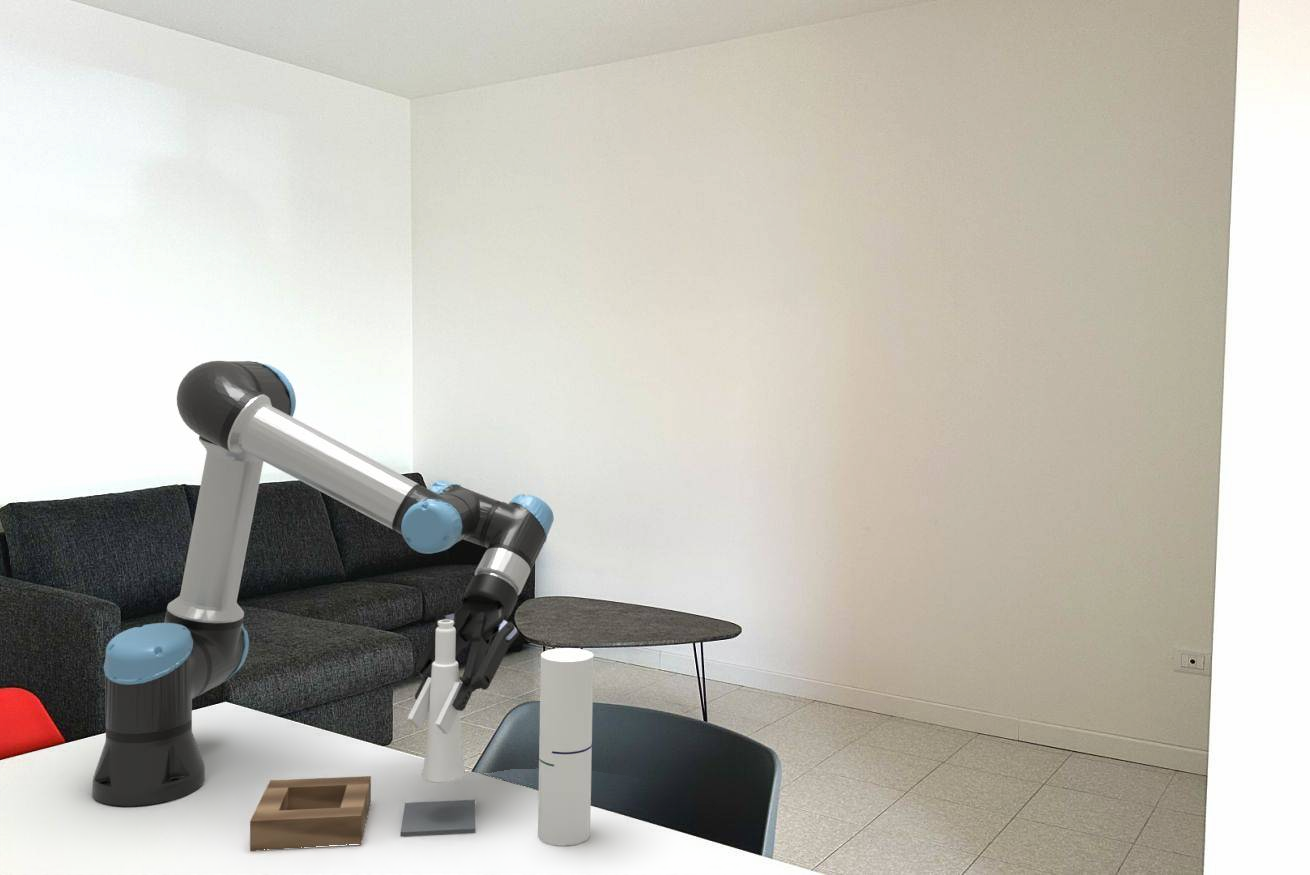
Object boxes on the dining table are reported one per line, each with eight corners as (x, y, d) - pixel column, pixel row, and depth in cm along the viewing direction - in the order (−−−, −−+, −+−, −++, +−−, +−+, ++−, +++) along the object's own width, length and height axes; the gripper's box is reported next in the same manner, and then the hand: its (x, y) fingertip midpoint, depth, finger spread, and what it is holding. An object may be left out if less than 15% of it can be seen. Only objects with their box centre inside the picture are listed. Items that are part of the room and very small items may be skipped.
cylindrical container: (582, 848, 141) (585, 663, 139) (530, 842, 142) (533, 659, 141) (595, 826, 148) (599, 650, 146) (546, 821, 149) (549, 646, 148)
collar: (270, 807, 152) (270, 780, 151) (370, 802, 154) (370, 776, 154) (250, 851, 138) (250, 821, 138) (360, 845, 140) (361, 815, 140)
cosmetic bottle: (450, 786, 145) (452, 628, 143) (413, 779, 147) (414, 623, 145) (473, 771, 150) (475, 618, 149) (437, 764, 152) (439, 614, 151)
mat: (405, 806, 153) (405, 802, 153) (475, 803, 155) (475, 799, 155) (400, 836, 143) (400, 832, 143) (475, 832, 145) (475, 828, 145)
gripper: (554, 606, 157) (490, 749, 143) (459, 594, 165) (390, 730, 151) (535, 576, 152) (467, 722, 138) (439, 566, 160) (365, 703, 146)
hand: (427, 726), depth 145 cm, fingers closed on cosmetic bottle, 4 cm apart
